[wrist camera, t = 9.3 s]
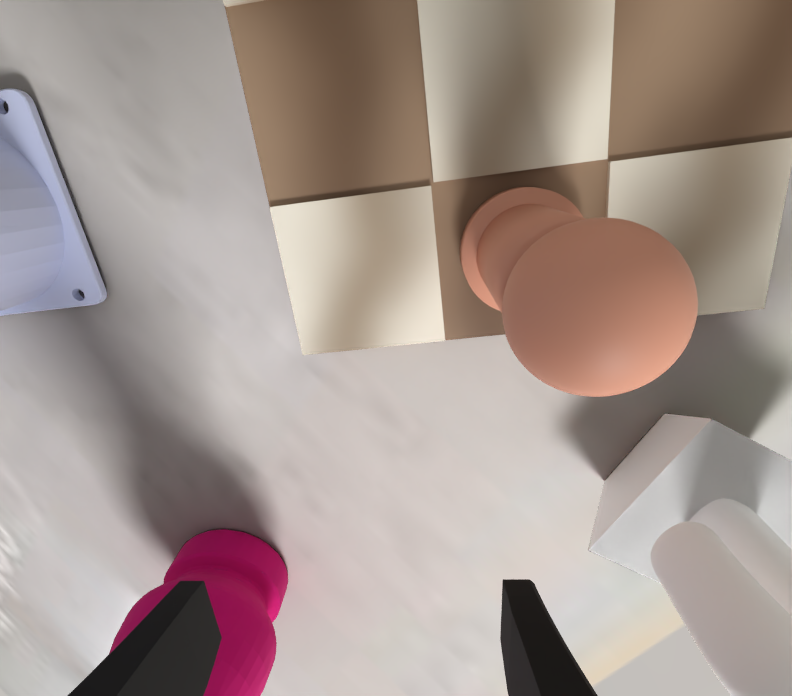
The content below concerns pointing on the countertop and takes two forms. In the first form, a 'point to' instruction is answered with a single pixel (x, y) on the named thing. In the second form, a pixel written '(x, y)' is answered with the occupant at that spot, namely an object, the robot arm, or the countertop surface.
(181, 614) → the robot arm
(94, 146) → the countertop surface
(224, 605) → the pepper mill
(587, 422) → the countertop surface
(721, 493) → the figurine
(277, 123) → the board
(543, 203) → the pawn
